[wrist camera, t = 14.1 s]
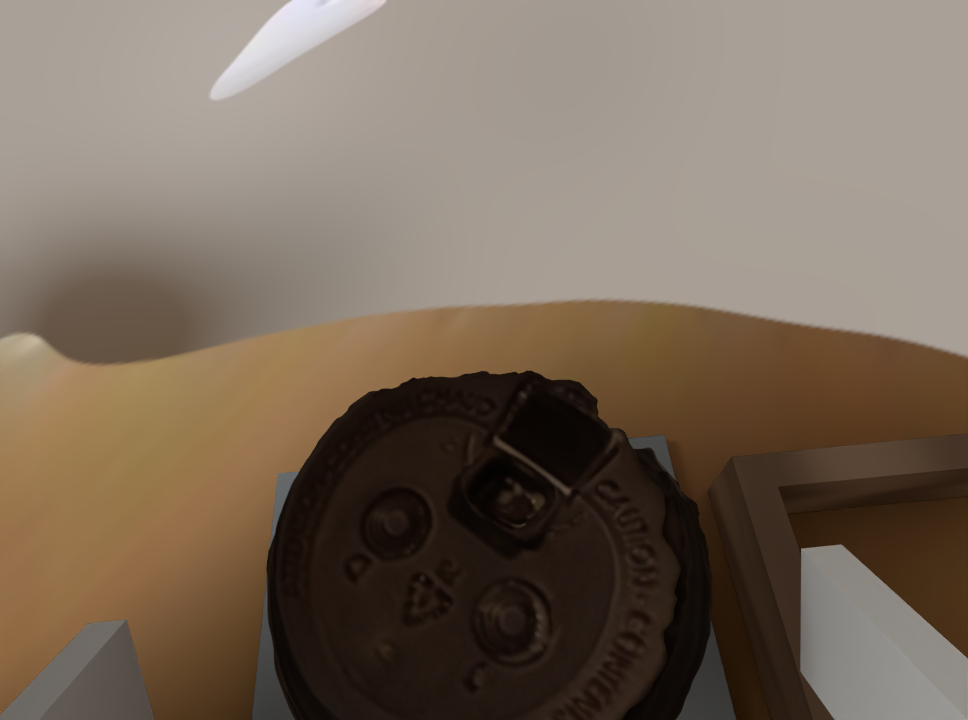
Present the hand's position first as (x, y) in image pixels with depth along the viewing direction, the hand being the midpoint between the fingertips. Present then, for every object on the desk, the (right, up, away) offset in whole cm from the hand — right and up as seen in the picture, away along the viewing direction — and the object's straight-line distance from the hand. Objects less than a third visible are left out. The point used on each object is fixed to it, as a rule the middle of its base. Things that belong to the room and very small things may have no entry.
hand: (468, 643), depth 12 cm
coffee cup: (+1, -4, +10) cm, 11 cm away
